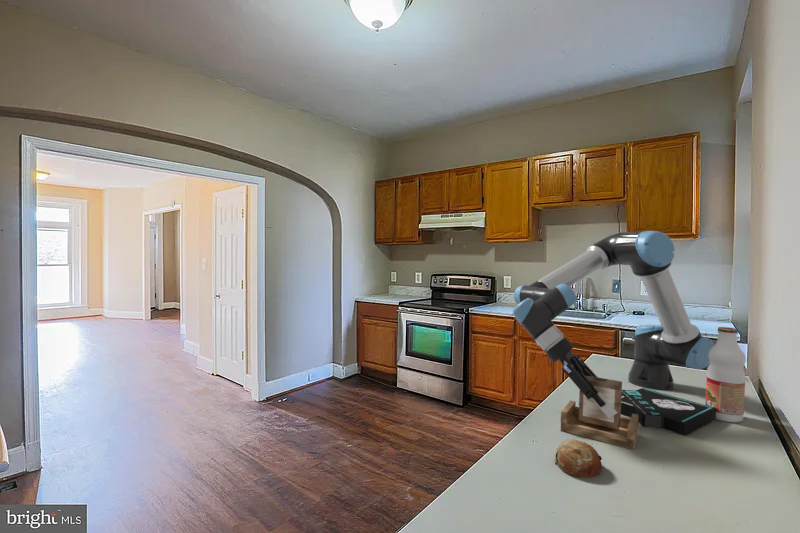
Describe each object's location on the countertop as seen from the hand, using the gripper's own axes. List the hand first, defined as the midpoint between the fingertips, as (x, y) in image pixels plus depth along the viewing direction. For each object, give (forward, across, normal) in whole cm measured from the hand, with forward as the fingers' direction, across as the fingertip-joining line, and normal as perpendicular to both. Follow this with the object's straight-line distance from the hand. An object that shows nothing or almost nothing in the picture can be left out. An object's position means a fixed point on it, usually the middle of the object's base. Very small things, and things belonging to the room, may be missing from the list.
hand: (614, 412), depth 112 cm
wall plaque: (+12, -26, +2) cm, 29 cm away
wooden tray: (+2, 0, -7) cm, 8 cm away
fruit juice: (+23, -37, +13) cm, 45 cm away
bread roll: (+2, +23, -8) cm, 25 cm away
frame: (0, 0, -5) cm, 5 cm away
